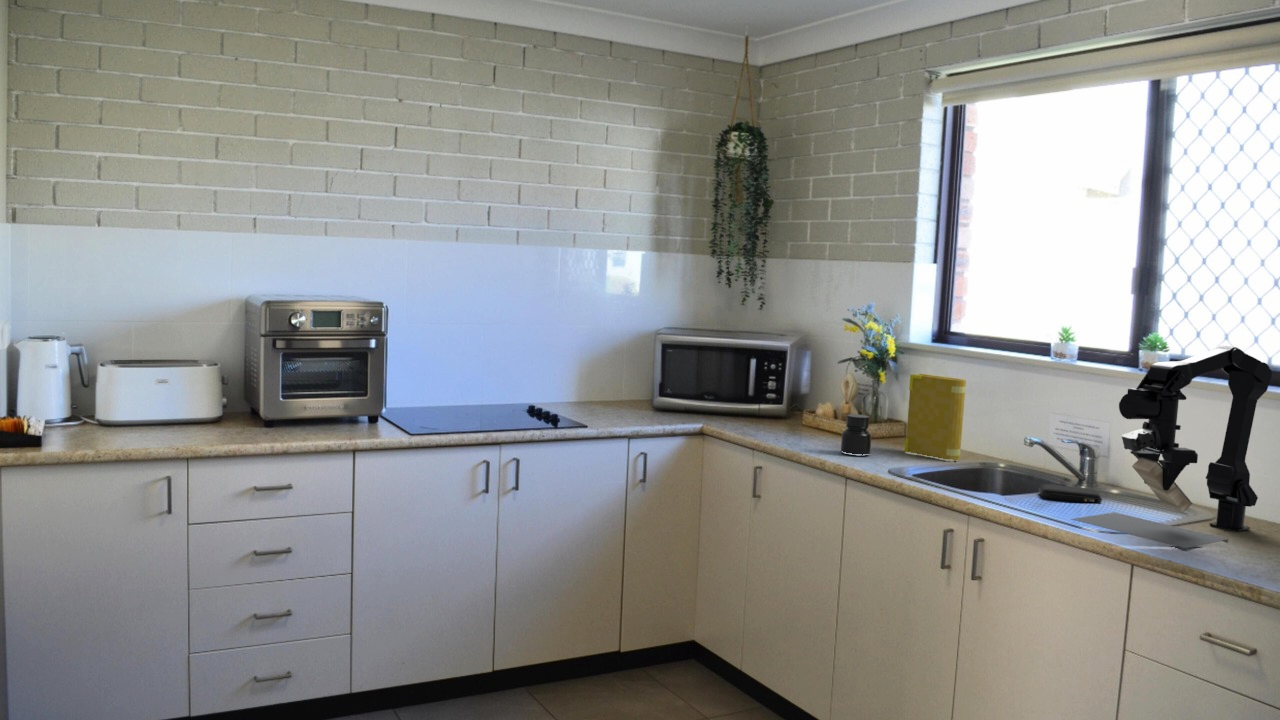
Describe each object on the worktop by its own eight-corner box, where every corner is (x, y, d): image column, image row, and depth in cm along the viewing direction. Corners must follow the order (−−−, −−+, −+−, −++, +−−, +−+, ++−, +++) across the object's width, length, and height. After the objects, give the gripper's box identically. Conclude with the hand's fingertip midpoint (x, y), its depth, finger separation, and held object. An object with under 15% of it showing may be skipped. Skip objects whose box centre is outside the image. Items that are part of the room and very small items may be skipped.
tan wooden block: (1174, 497, 242) (1141, 457, 240) (1192, 503, 236) (1158, 462, 234) (1165, 506, 242) (1131, 465, 240) (1183, 512, 236) (1149, 471, 234)
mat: (1114, 514, 255) (1114, 512, 255) (1227, 541, 233) (1228, 539, 232) (1070, 521, 244) (1070, 519, 244) (1184, 550, 222) (1185, 547, 222)
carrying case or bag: (1040, 501, 268) (1103, 508, 264) (1041, 489, 267) (1104, 496, 263) (1037, 493, 278) (1097, 499, 274) (1038, 482, 278) (1098, 488, 274)
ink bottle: (876, 455, 322) (879, 417, 321) (861, 458, 316) (864, 419, 315) (849, 450, 329) (852, 412, 328) (833, 453, 322) (836, 414, 321)
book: (904, 453, 329) (910, 374, 327) (916, 451, 333) (922, 373, 331) (951, 462, 316) (958, 380, 314) (963, 460, 321) (970, 379, 319)
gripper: (1105, 412, 245) (1100, 477, 246) (1155, 424, 226) (1148, 495, 227) (1150, 413, 246) (1143, 478, 247) (1202, 425, 228) (1195, 496, 229)
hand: (1156, 487), depth 238 cm, fingers closed on tan wooden block, 6 cm apart
